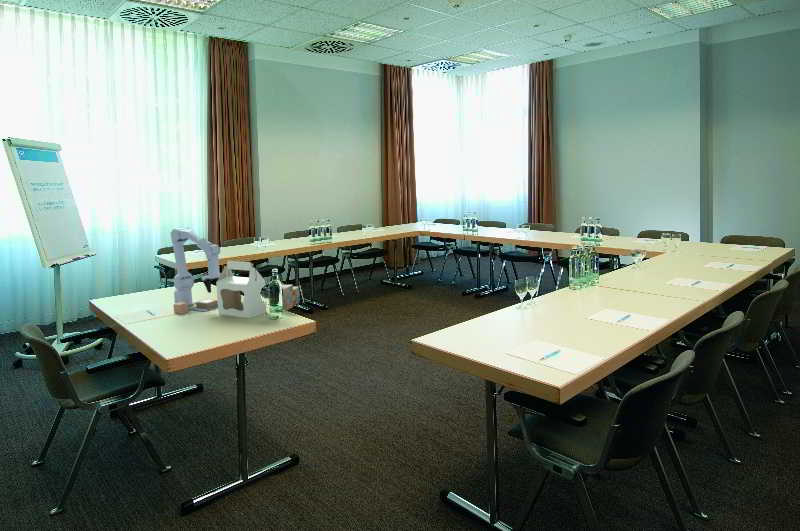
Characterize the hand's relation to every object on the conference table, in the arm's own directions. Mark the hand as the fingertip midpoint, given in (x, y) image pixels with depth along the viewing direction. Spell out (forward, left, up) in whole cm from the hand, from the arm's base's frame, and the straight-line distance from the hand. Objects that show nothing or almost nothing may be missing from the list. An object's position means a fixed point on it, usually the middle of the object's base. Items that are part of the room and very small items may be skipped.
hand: (215, 291), depth 295 cm
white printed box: (+35, +17, -10) cm, 40 cm away
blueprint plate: (-7, 0, -10) cm, 12 cm away
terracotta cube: (-13, -13, -10) cm, 21 cm away
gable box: (+21, -3, -10) cm, 24 cm away
